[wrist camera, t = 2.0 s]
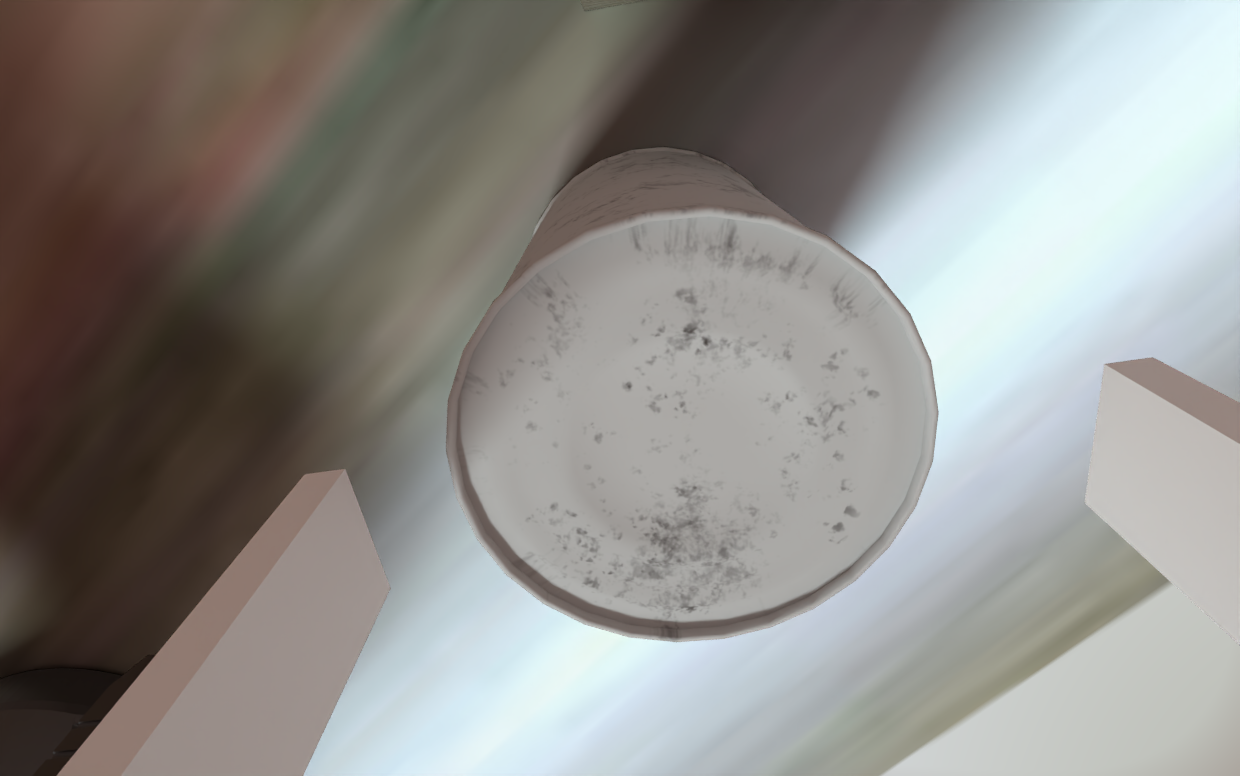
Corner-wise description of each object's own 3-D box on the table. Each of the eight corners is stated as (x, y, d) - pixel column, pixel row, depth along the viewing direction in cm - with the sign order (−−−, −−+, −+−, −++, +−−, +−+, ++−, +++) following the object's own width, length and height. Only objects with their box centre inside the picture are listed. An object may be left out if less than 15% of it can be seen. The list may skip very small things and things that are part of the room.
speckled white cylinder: (471, 302, 25) (350, 482, 13) (643, 82, 22) (671, 76, 10) (667, 450, 27) (703, 705, 16) (845, 270, 24) (1042, 428, 13)
